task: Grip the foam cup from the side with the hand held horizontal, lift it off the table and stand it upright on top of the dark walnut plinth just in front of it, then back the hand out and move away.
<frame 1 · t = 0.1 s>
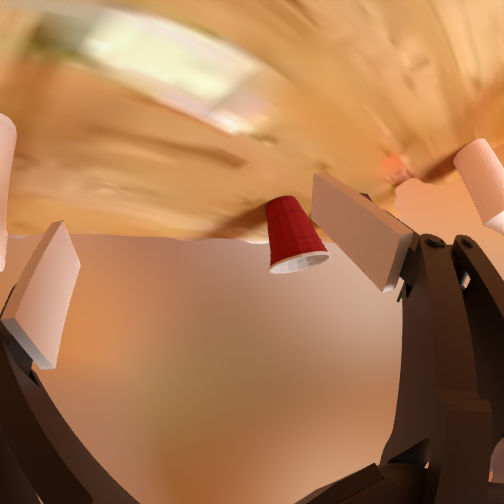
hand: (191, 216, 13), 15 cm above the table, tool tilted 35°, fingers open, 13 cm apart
plastic cup: (279, 203, 48), on the table
bottle: (469, 151, 43), on the table
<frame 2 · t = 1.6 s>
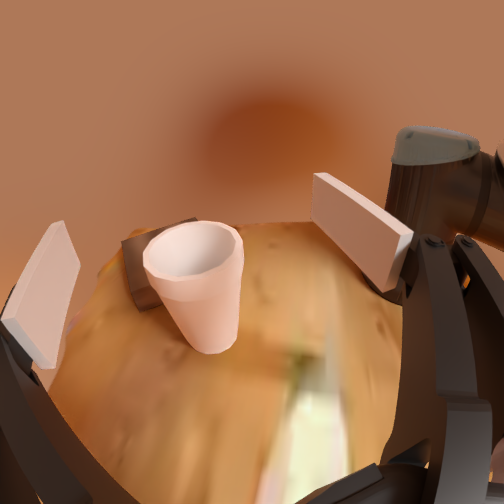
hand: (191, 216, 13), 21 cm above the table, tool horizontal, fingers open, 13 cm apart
walnut plinth: (172, 268, 43), on the table
foam cup: (212, 334, 32), on the table
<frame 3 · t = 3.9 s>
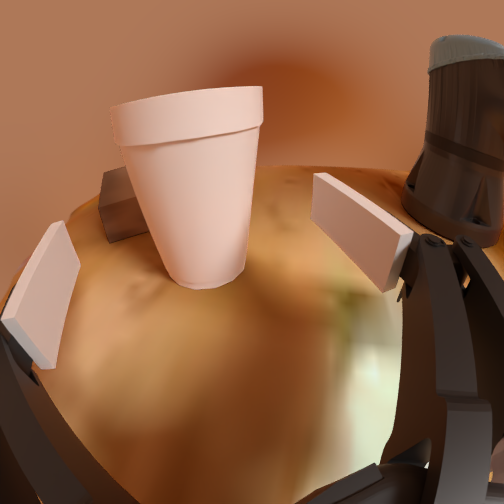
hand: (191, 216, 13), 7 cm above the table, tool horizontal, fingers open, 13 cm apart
walnut plinth: (161, 201, 32), on the table
foam cup: (206, 264, 22), on the table
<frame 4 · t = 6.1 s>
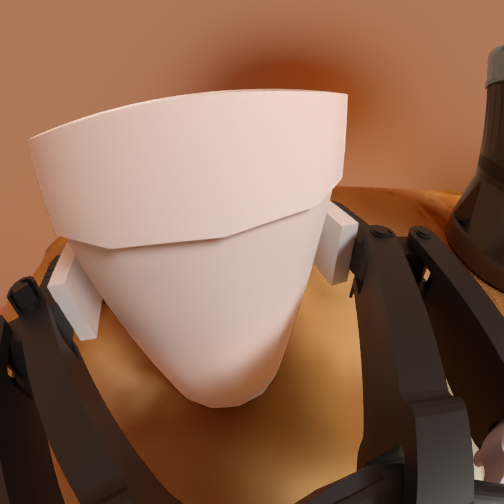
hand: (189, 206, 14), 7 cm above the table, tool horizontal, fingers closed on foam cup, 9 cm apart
foam cup: (222, 360, 14), on the table, touching gripper
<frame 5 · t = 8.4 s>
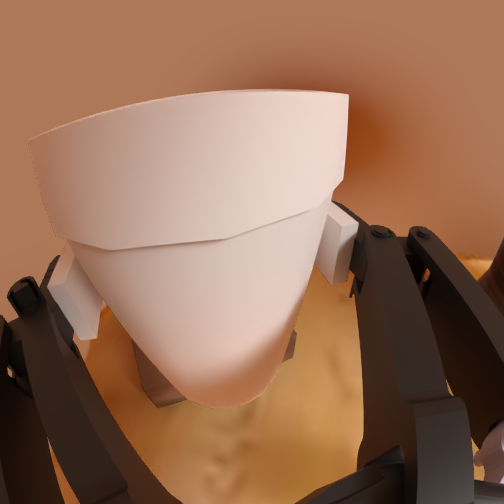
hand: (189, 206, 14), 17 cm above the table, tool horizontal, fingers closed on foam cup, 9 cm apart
walnut plinth: (202, 332, 28), on the table
foam cup: (222, 360, 14), point 10 cm above the table, touching gripper
when the fingers open (12 cm above the table, at t = 10.9 s): foam cup drops 1 cm, resting on walnut plinth.
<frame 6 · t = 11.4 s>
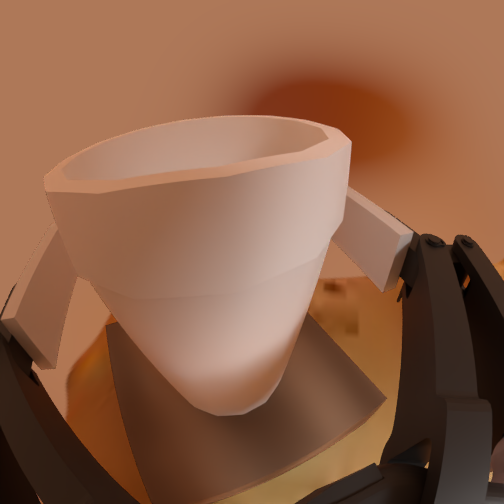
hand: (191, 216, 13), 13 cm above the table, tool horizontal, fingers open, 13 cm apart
walnut plinth: (231, 396, 17), on the table
foam cup: (227, 370, 15), point 4 cm above the table, touching walnut plinth
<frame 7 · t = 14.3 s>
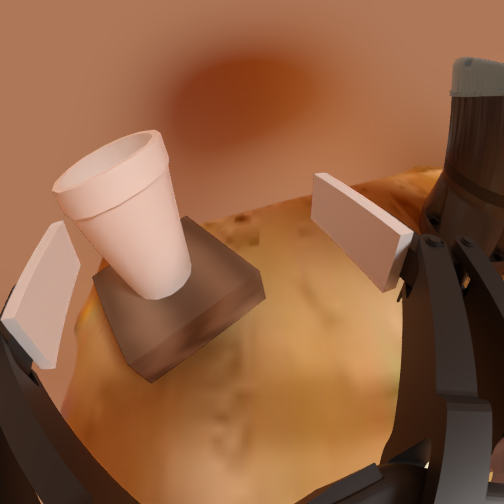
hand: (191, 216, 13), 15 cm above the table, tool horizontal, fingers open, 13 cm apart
walnut plinth: (175, 299, 29), on the table
foam cup: (162, 276, 26), point 4 cm above the table, touching walnut plinth
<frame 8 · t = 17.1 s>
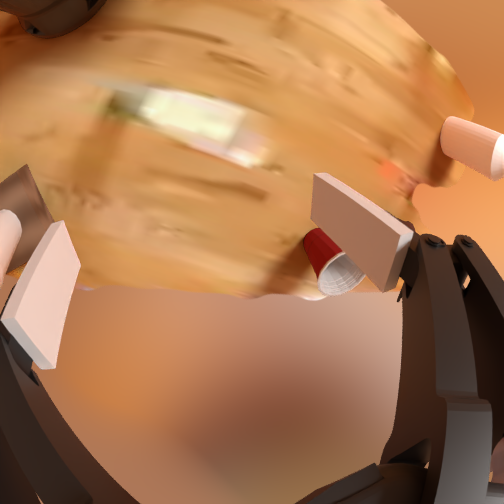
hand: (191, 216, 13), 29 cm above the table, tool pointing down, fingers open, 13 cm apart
walnut plinth: (17, 217, 32), on the table
plastic cup: (314, 240, 55), on the table
bottle: (450, 136, 51), on the table
foam cup: (8, 226, 29), point 4 cm above the table, touching walnut plinth
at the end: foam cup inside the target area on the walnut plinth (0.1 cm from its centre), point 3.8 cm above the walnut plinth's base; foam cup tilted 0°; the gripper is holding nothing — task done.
